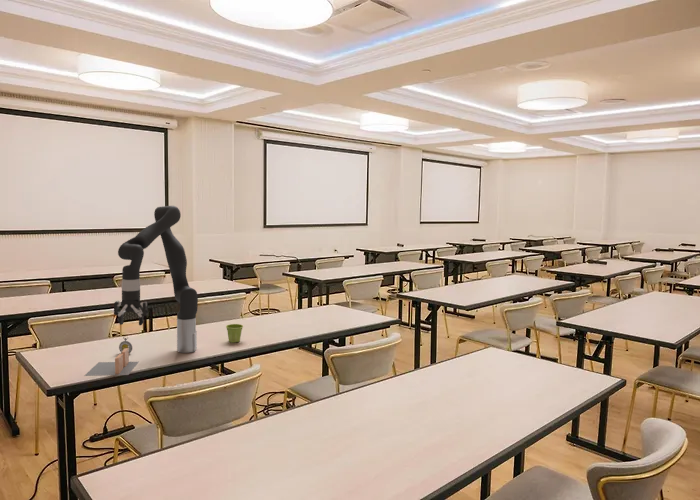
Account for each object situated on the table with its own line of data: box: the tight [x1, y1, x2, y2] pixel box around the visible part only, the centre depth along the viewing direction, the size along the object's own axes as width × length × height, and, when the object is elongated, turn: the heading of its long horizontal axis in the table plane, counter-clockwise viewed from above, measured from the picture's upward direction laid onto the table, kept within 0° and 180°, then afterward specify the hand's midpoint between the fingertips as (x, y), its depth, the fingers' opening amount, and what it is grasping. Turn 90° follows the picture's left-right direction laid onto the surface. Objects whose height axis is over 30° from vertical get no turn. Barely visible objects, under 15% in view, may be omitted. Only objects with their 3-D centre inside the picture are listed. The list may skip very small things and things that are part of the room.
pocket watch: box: [118, 335, 133, 354], centre depth 244 cm, size 8×8×10 cm
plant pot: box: [225, 323, 244, 344], centre depth 278 cm, size 9×9×9 cm
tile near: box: [114, 353, 123, 374], centre depth 222 cm, size 2×6×7 cm, turn 9°
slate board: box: [84, 361, 140, 377], centre depth 226 cm, size 18×18×1 cm
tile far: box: [120, 347, 130, 367], centre depth 230 cm, size 2×6×7 cm, turn 9°
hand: (131, 324), depth 224 cm, fingers open, 8 cm apart
